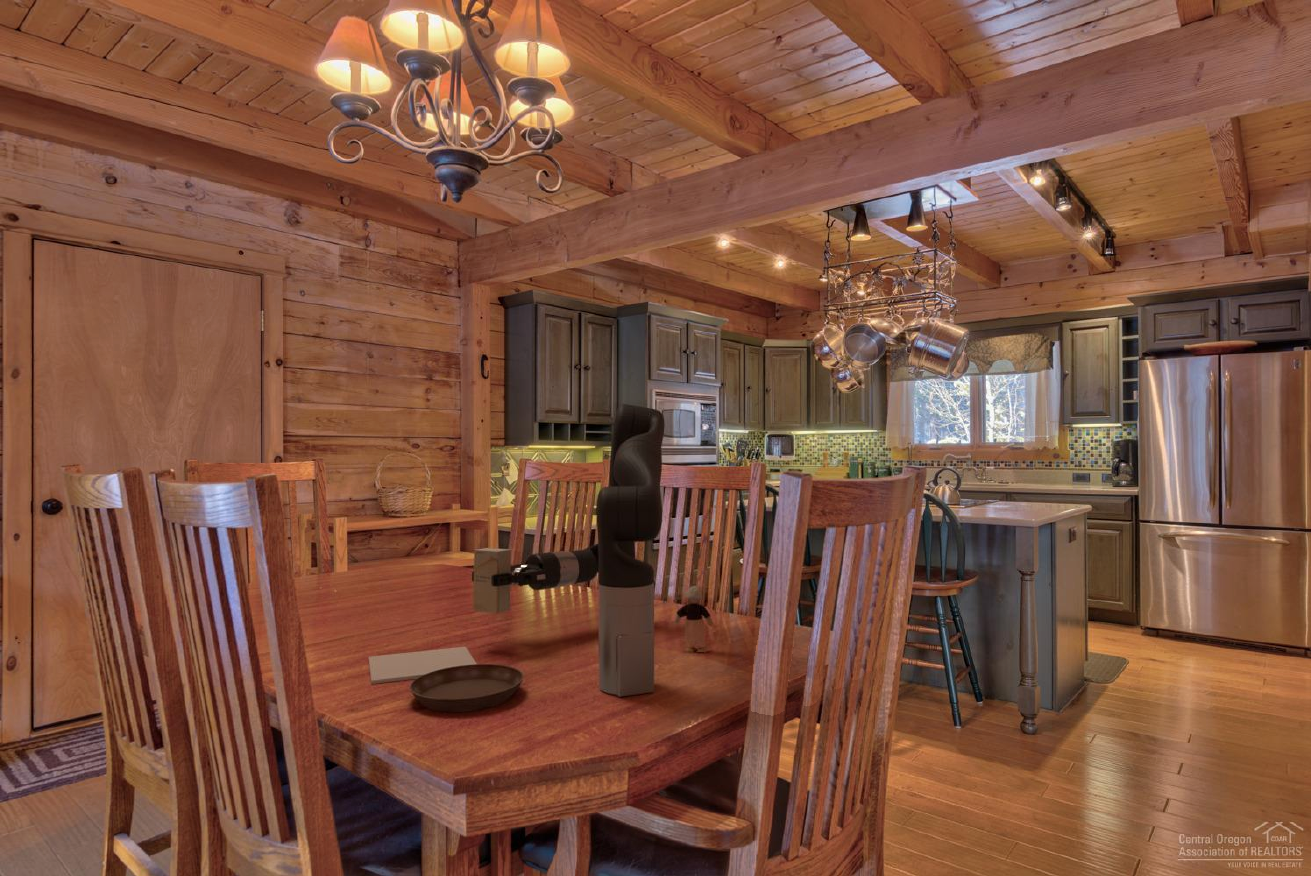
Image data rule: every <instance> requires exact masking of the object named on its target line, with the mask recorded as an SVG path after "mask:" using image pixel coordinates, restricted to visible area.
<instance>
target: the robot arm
mask: <svg viewBox="0 0 1311 876" xmlns="http://www.w3.org/2000/svg"><path fill="white" fill-rule="evenodd" d="M665 428H666V427H665V417H664V415H663V413H662V412H661V411H660V410H658V409H656V408H651V407H646V406H639V405H635V404H634V405H633V404H626V403H622V404H621V405H620V406H619V407H618V408H617V410H616V414H615V417H614V421H613V427H612V434H611V444H610V455H609V456H610V458H609V474H608V475H609V476H608V479H609V480H608V486H604V487H601V489H600V490H599V492H598V494H597V497H596V498H597V499H596V506H595V507H596V509H595V510H596V512H595V515H596V527H597V528H596V529H597V530H596V531H597V543H596V544H593V545H590V546H588V547H586V548H583V549H580V550H577V549H576V550H570V551H568V550H567V551H564V550H563V551H561V550H558V551H548V552H538V553H532V554H530V555H529V556H527V559H526V561H525V563H524V564H523V562H518V563H516V562H515V563H514V564H511V572H510V573H503V574H495V575H492V577H491V584H492V586H503V585H510V586H518V587H523V586H528V587H529V588H530V589H532V590H534V591H542V590H548V589H558V588H562V587H567V586H570V585H574V584H575V585H576V584H582V583H588V582H590V581H592V580H594V578H596V576H597V575H598V689H599V690H600V691H602V692H603V693H607V694H611V695H616V696H617V697H620V698H621V697H626V696H634V695H635V696H636V695H641V694H648V693H654V692H655V583H654V582H655V574H654V568H653V566H652V565H651V564H649V563H648V562H645V561H642V560H639V559H636V545H635V544H636V543H640V542H641V543H643V542H645V543H646V542H650V541H653V540H656V538H657V537H658V536H659V534H660V532H661V528H662V523H663V506H662V505H663V504H662V503H663V502H662V493H661V479H662V471H663V469H662V468H663V467H662V466H663V458H662V446H663V440H664V433H665ZM471 581H472V582H473V583H474V570H473V571H472V572H471Z"/></svg>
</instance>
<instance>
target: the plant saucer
mask: <svg viewBox="0 0 1311 876" xmlns="http://www.w3.org/2000/svg"><path fill="white" fill-rule="evenodd" d="M523 679H524V674H523V672H522V671H521V670H519V669H518V668H515V667H512V666H508V665H502V664H492V663H479V664H478V663H476V664H474V665H462V666H455V667H449V668H444V669H440V670H436V671H433V672H430V673H427V674H425V675H422V676H420V677H418V678H417V679H413V681H411V683H410V684H409V690H410V692H411V694H412V695H413V697H415V699H416V700H417V701H418V702H419V703H420V704H421V705H422V706H424V707H425V708H427V709H430V710H433V711H438V712H451V713H453V712H455V713H458V712H459V711H463V712H470V711H469V710H473V711H478V709H480V710H484V709H488V708H492V707H495V706H497V705H500V704H503V703H504V702H506V701H508V700H509V699H510V698H511V697H512V696H513V695H514V693H515V692H516V691H517V690H518V689H519V687H520V686H521V684H522V683H523V682H522V681H523ZM456 711H457V712H456ZM459 713H460V712H459Z"/></svg>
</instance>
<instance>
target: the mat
mask: <svg viewBox="0 0 1311 876" xmlns="http://www.w3.org/2000/svg"><path fill="white" fill-rule="evenodd" d="M474 664H477V662H476V660H475V659H474V657H473V656H472V654H471V653H470V651H469V649H468V648H467V647H466V646H460V647H459V646H458V647H450V648H441V649H432V650H431V649H430V650H421V651H413V652H410V651H409V652H402V653H393V654H383V655H381V654H380V655H373V656H368V666H369V668H368V669H369V674H370V676H369V677H370V681H371V682H370V683H371V685H374V684H384V683H392V682H402V681H409V680H415V679H417V678H418V677H420V676H422V675H425V674H427V673H430V672H433V671H436V670H440V669H444V668H449V667H455V666H462V665H474Z"/></svg>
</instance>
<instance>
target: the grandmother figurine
mask: <svg viewBox="0 0 1311 876" xmlns="http://www.w3.org/2000/svg"><path fill="white" fill-rule="evenodd" d="M702 593H703V592H702V589H701V587H700V586H698V585H691V586H690V587H688V588H687V589H686V591H685V596H684V597H685V598H686V599H687V600H688V603H689V604H685V605H683V606H681V607H680V608H679V609H678V610H677V612H676V615H675V618H674V622H675V623H676V624H679V622H680V621H681V619H682V618H684V617H686V619H685V625H684V629H685V632H684V633H685V634H684V636H685V645H686V648H685V652H686V653H694V652H695V651H696V653H698V652H704V653H707V652H709V648H708V647H707V646H706V635H705V623H704V619H705V620H706V622H707V625H708V627H713V626H714V621H712V620H713V619H712V617H711V615H712V614H711V613H710V612H709V610H708V609H707V608H706V607H705V606H704V605H701V604H699V603H700V602H701V599H702Z"/></svg>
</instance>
